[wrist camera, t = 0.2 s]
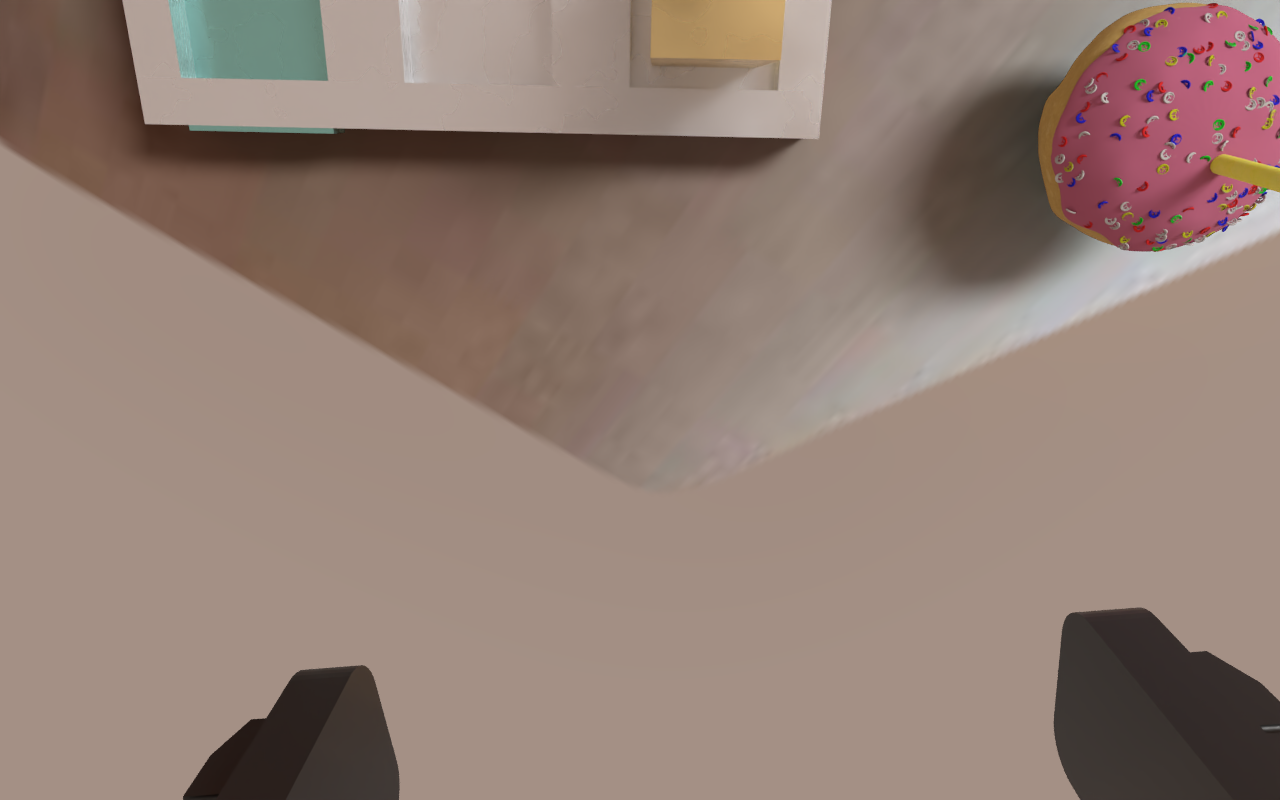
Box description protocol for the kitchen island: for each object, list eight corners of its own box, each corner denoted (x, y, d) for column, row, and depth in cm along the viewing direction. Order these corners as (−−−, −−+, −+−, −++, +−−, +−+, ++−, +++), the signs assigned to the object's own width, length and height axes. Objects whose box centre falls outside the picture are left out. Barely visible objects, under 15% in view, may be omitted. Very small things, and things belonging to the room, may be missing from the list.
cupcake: (1244, 139, 33) (1543, 161, 22) (1064, 274, 36) (1253, 356, 24) (1139, -36, 31) (1410, -110, 20) (953, 118, 33) (1104, 129, 22)
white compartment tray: (141, -129, 31) (95, -150, 28) (828, -116, 31) (843, -135, 28) (183, 127, 34) (145, 129, 31) (805, 140, 34) (818, 144, 31)
